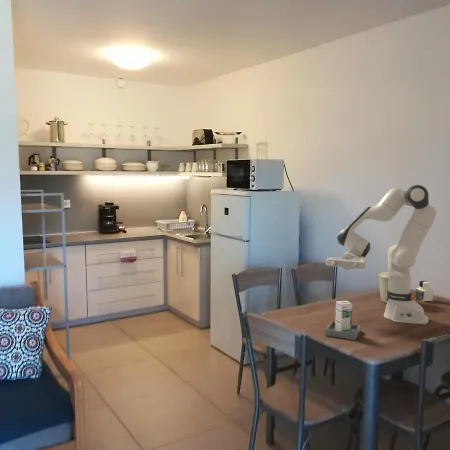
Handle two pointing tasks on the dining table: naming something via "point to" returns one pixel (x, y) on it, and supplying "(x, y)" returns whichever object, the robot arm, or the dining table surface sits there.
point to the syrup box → (343, 316)
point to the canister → (384, 285)
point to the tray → (340, 334)
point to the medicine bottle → (424, 291)
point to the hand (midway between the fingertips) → (343, 265)
